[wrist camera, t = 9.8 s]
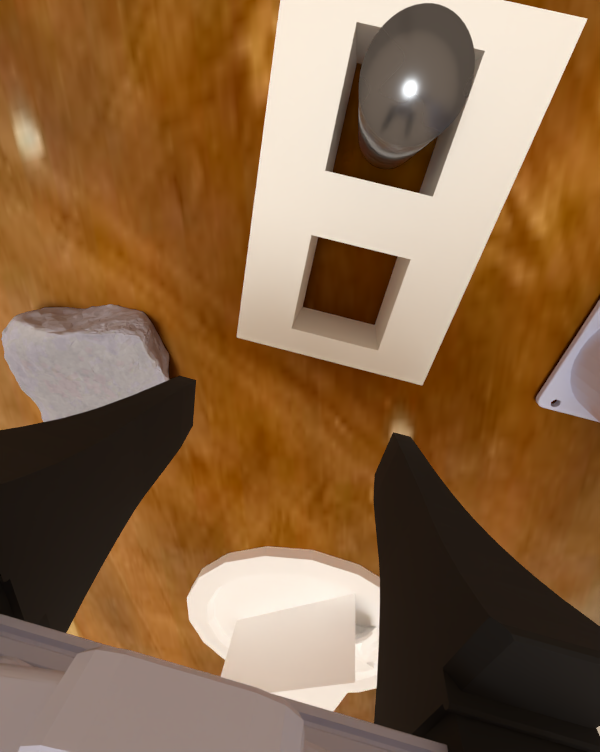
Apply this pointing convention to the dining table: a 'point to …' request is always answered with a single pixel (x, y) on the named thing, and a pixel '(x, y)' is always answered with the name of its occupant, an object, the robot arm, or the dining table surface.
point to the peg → (413, 82)
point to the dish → (290, 622)
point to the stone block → (83, 357)
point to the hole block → (381, 202)
